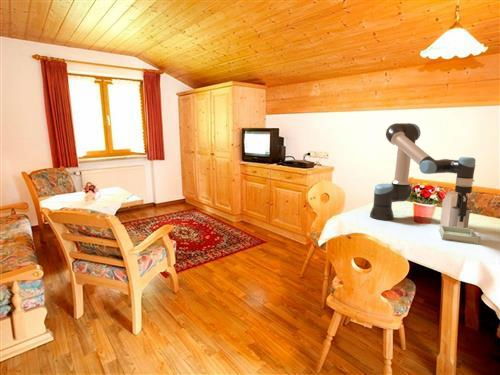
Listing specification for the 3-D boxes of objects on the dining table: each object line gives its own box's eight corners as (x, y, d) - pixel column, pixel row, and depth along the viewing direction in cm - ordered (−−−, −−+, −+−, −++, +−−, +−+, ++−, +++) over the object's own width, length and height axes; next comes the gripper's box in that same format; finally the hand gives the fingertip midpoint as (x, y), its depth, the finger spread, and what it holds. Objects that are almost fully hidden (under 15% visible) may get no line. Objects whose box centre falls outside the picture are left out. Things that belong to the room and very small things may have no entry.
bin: (442, 239, 164) (442, 233, 163) (439, 230, 178) (439, 225, 177) (477, 244, 157) (478, 237, 156) (471, 234, 171) (472, 229, 170)
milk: (448, 227, 185) (452, 193, 181) (439, 224, 191) (443, 191, 186) (455, 226, 186) (460, 192, 182) (446, 223, 192) (450, 190, 188)
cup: (470, 228, 161) (473, 210, 159) (454, 227, 163) (456, 209, 161) (463, 223, 169) (465, 206, 167) (447, 222, 171) (449, 206, 169)
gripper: (476, 189, 151) (470, 231, 155) (468, 182, 169) (463, 220, 174) (458, 188, 154) (453, 229, 158) (452, 182, 173) (448, 219, 177)
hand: (458, 224), depth 166 cm, fingers closed on cup, 8 cm apart
